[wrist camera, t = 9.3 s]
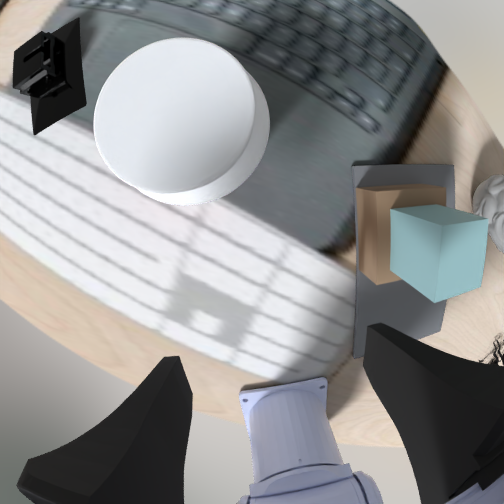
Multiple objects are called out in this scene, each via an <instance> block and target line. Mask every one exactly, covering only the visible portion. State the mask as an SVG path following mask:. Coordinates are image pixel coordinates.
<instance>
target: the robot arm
mask: <svg viewBox="0 0 504 504" xmlns="http://www.w3.org/2000/svg"><path fill="white" fill-rule="evenodd" d="M363 366H364V369H365V371H366V374H367V376H368V379H369V381H370V383H371V385H372V387H373V389H374V390H375V392H376V394H377V396H378V397H379V399H380V401H381V402H382V404H383V405H384V407H385V409H386V410H387V412H388V414H389V415H390V417H391V419H392V420H393V422H394V424H395V426H396V428H397V430H398V432H399V434H400V436H401V439H402V441H403V444H404V446H405V448H406V451H407V454H408V457H409V460H410V462H411V465H412V468H413V472H414V475H415V478H416V482H417V486H418V490H419V495H420V500H421V504H504V366H497V365H490V364H484V363H479V362H475V361H471V360H467V359H464V358H460V357H457V356H454V355H451V354H448V353H445V352H443V351H441V350H438V349H436V348H433V347H431V346H429V345H427V344H424V343H422V342H420V341H418V340H416V339H414V338H412V337H410V336H408V335H406V334H404V333H402V332H400V331H398V330H396V329H394V328H392V327H390V326H388V325H386V324H384V323H381V322H380V323H376V324H372V325H368V326H367V333H366V344H365V353H364V361H363ZM327 383H328V382H327V379H326V378H324V377H321V378H317V379H312V380H307V381H302V382H297V383H291V384H286V385H280V386H274V387H267V388H260V389H253V390H245V391H241V392H240V393H239V399H240V403H241V407H242V411H243V415H244V419H245V423H246V427H247V430H248V434H249V438H250V441H251V452H252V463H253V474H254V484H250V485H249V486H250V495H245V496H242V497H241V498H240V500H239V501H238V502H237V503H236V504H383V500H382V497H381V494H380V491H379V489H378V487H377V485H376V483H375V481H374V480H373V479H372V477H371V476H369V475H367V474H365V473H363V472H362V471H357V472H354V473H352V470H351V467H350V464H349V463H348V464H344V463H343V460H342V457H341V455H340V452H339V449H338V446H337V443H336V440H335V438H334V435H333V432H332V429H331V426H330V424H329V421H328V418H327V415H326V402H327ZM322 385H323V386H322ZM320 386H321V387H320ZM192 399H193V393H192V391H191V388H190V385H189V382H188V380H187V377H186V374H185V371H184V369H183V366H182V363H181V360H180V357H179V356H171V357H164V358H163V359H162V360H161V361H160V362H159V363H158V364H157V366H156V367H155V368H154V369H153V370H152V371H151V373H150V374H149V375H148V376H147V377H146V378H145V380H144V381H143V382H142V383H141V384H140V385H139V386H138V387H137V389H136V390H135V391H134V392H133V393H132V394H131V395H130V396H129V397H128V398H127V399H126V400H125V401H124V402H123V403H122V404H121V405H120V406H119V407H118V408H117V409H116V410H115V411H114V412H112V413H111V414H110V415H109V416H108V417H107V418H105V419H104V420H103V421H102V422H100V423H99V424H98V425H96V426H95V427H93V428H92V429H90V430H89V431H87V432H86V433H84V434H83V435H81V436H80V437H78V438H77V439H75V440H73V441H71V442H69V443H68V444H66V445H64V446H62V447H60V448H58V449H55V450H53V451H51V452H48V453H45V454H43V455H40V456H37V457H34V458H31V459H28V461H27V463H26V465H25V467H24V469H23V472H22V474H21V476H20V478H19V481H18V483H17V487H18V489H19V491H20V492H21V493H22V494H23V495H25V496H26V497H27V498H28V499H29V500H31V501H32V502H33V503H35V504H184V464H185V456H186V449H187V444H188V437H189V431H190V425H191V419H192Z"/></svg>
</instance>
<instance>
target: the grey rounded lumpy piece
mask: <svg viewBox="0 0 504 504" xmlns="http://www.w3.org/2000/svg"><path fill="white" fill-rule="evenodd" d="M472 204H473V213H474V215H478V216H481V217H484V218H488V219H489V220H488V234H489V235H490V236H491V239H492V241H493V242H494V243H495V245H496V246H497V249H498V250H499V251H500V252H502V253H504V175H492V176H490V177H489V178H488V179H487V180H485V181H483V182H482V183H481V184H480V185H479V186H478V187H477V189H476V191H475V193H474V196H473V203H472Z"/></svg>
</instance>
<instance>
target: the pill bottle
mask: <svg viewBox="0 0 504 504" xmlns="http://www.w3.org/2000/svg"><path fill="white" fill-rule="evenodd" d="M269 131H270V116H269V109H268V105H267V102H266V99H265V96H264V94H263V92H262V90H261V88H260V86H259V85H258V83H257V82H256V81H255V79H254V78H253V77H252V76H251V75H250V74H249V73H248V72H247V71H246V70H245V69H244V67H243V66H242V65H241V63H240V62H239V61H238V60H237V59H236V58H235V57H234V56H233V55H231V54H230V53H229V52H228V51H226V50H225V49H223V48H221V47H220V46H218V45H216V44H213V43H211V42H208V41H205V40H201V39H195V38H171V39H166V40H161V41H157V42H154V43H152V44H149V45H147V46H145V47H143V48H141V49H139V50H137V51H136V52H134V53H133V54H131V55H130V56H128V57H127V58H126V59H125V60H124V61H123V62H121V63H120V64H119V65H118V66H117V67H116V69H115V70H114V71H113V72H112V73H111V75H110V76H109V77H108V79H107V81H106V82H105V84H104V86H103V88H102V90H101V92H100V94H99V97H98V100H97V104H96V108H95V112H94V135H95V140H96V144H97V147H98V150H99V152H100V155H101V157H102V158H103V160H104V162H105V163H106V164H107V166H108V167H109V169H110V170H111V171H112V172H113V173H114V174H115V175H116V176H117V177H118V178H120V179H121V180H122V181H124V182H126V183H127V184H129V185H131V186H133V187H135V188H137V189H138V190H139V191H140V192H142V193H143V194H145V195H147V196H148V197H150V198H152V199H155V200H157V201H160V202H163V203H167V204H172V205H183V206H189V205H199V204H204V203H208V202H211V201H214V200H217V199H219V198H221V197H223V196H225V195H227V194H229V193H231V192H232V191H233V190H235V189H236V188H238V187H239V186H240V185H241V184H242V183H243V182H245V181H246V180H247V178H248V177H249V176H250V175H251V174H252V173H253V171H254V170H255V169H256V167H257V166H258V164H259V162H260V160H261V158H262V156H263V154H264V152H265V149H266V146H267V142H268V138H269Z"/></svg>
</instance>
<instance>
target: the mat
mask: <svg viewBox="0 0 504 504" xmlns="http://www.w3.org/2000/svg"><path fill="white" fill-rule="evenodd" d="M351 167H352V178H353V190H354V204H355V223H356V266H357V271H356V314H355V333H354V347H353V357H354V359H355V358H359V357H363V356H364V353H365V344H366V333H367V326H368V325H372V324H376V323H380V322H381V323H384V324H386V325H388V326H390V327H392V328H394V329H396V330H398V331H400V332H402V333H404V334H406V335H408V336H410V337H412V338H414V339H416V340H418V339H421V338H423V337H426V336H429V335H432V334H434V333H437V332H439V331H440V330H441V326H442V321H443V316H444V311H445V306H446V300H447V299H445V300H442V301H439V302H436V303H434V302H432V301H431V300H430V299H428V298H427V297H426V296H424V295H423V294H422V293H420V292H419V291H418V290H416V289H415V288H414V287H412V286H411V285H410V284H408V283H407V282H406V281H404V280H403V279H402V280H398V281H394V282H389V283H385V284H380V285H376V284H375V283H374V282H372V281H371V280H370V279H369V278H368V277H367V276H365V275H364V274H363V273H362V272H361V271H360V270H359V250H358V218H357V200H356V188H360V187H373V186H387V185H404V184H428V185H434V186H441V187H446V207H449V208H453V209H455V177H454V165H442V164H396V165H366V166H351Z"/></svg>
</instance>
